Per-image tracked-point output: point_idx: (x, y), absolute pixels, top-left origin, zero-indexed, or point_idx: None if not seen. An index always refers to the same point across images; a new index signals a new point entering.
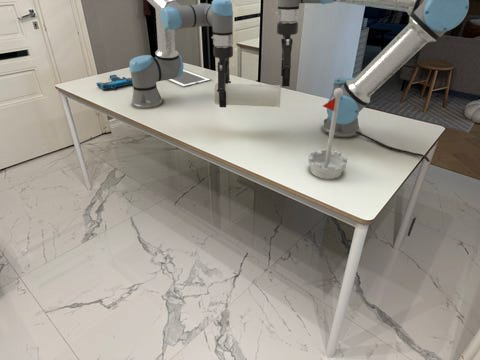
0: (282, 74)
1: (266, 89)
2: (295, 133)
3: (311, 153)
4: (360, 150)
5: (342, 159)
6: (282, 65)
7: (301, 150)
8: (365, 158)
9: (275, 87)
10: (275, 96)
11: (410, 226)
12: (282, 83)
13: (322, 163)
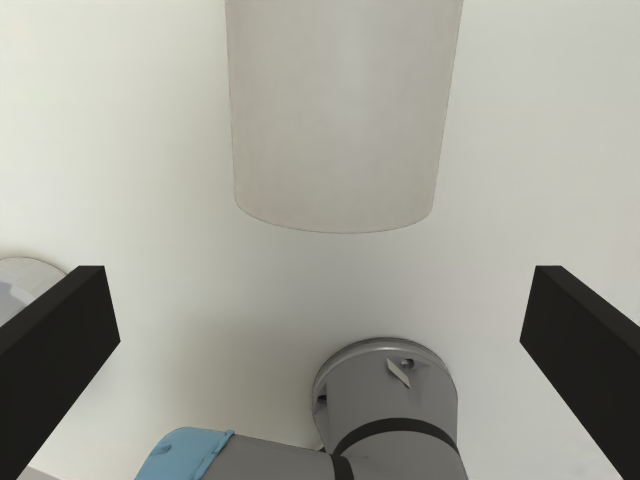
0: (543, 291)
1: (262, 53)
2: None
3: (14, 285)
4: (220, 424)
5: None
6: (636, 372)
7: (177, 236)
8: (165, 427)
9: (296, 170)
10: (234, 156)
11: None
12: (55, 285)
13: None
